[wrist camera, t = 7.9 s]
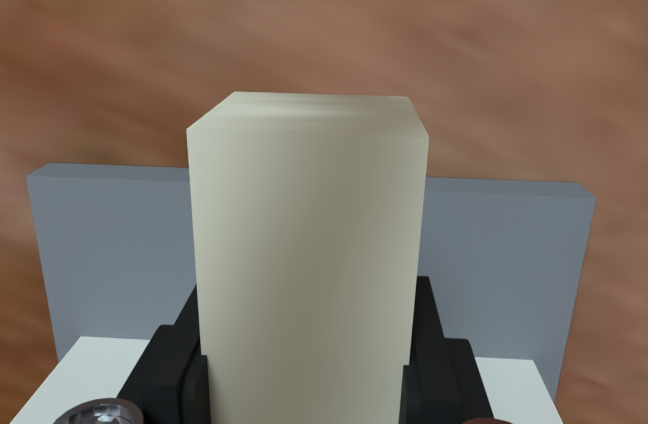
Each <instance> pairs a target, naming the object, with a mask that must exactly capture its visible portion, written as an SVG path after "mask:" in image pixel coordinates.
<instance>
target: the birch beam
mask: <svg viewBox="0 0 648 424" xmlns="http://www.w3.org/2000/svg"><path fill="white" fill-rule="evenodd" d="M187 144H188V160H189V175H190V190H191V205H192V220H193V235H194V250H195V266H196V281H197V296H198V311H199V326H200V341H201V355H207V364H208V380H209V396H210V412H211V424H398V422H399V410H400V398H401V387H402V375H403V365H409V358H410V347H411V336H412V324H413V313H414V302H415V291H416V279H417V268H418V257H419V246H420V234H421V223H422V212H423V201H424V189H425V178H426V167H427V156H428V144H429V136H428V134H427V132H426V130H425V128H424V126H423V124H422V123H421V121H420V119H419V117H418V115H417V113H416V111H415V109H414V107H413V105H412V103H411V101H410V100H409V98H408V97H397V96H364V95H331V94H297V93H264V92H234V93H232V94H231V95H230V96H228V97H227V98H226V99H225V100H223V101H222V102H221V103H220V104H218V105H217V106H216V107H214V108H213V109H212V110H211V111H209V112H208V113H207V114H205V115H204V116H203V117H202V118H200V119H199V120H198V121H196V122H195V123H194V124H193V125H191V126H190V127H189V128H187Z"/></svg>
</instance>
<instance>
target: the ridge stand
mask: <svg viewBox="0 0 648 424" xmlns="http://www.w3.org/2000/svg"><path fill="white" fill-rule="evenodd" d="M26 180H27V185H28V191H29V197H30V202H31V208H32V214H33V220H34V225H35V231H36V237H37V242H38V248H39V254H40V259H41V265H42V271H43V276H44V282H45V288H46V293H47V299H48V305H49V310H50V316H51V322H52V328H53V333H54V339H55V345H56V350H57V356H58V362H59V364H58V365H57V366H56V368H55V369H54V370H53V371H52V372H51V374H50V375H49V376H48V377H47V379H46V380H45V381H44V382H43V383H42V385H41V386H40V387H39V388H38V390H37V391H36V392H35V393H34V394H33V396H32V397H31V398H30V399H29V401H28V402H27V403H26V404H25V406H24V407H23V408H22V409H21V410H20V412H19V413H18V414H17V415H16V417H15V418H14V419H13V420H12V421H11V423H10V424H53V423H54V422H55V420H56V419H57V418H59V417H60V416H61V415H62V414H64V413H65V412H66V411H67V410H69V409H71V408H73V407H75V406H77V405H79V404H81V403H84V402H88V401H91V400H94V399H101V398H116V397H117V395H118V393H119V392H120V390H121V388H122V387H123V385H124V383H125V382H126V380H127V378H128V377H129V375H130V373H131V371H132V370H133V368H134V366H135V365H136V363H137V361H138V360H139V358H140V356H141V355H142V353H143V351H144V350H145V348H146V346H147V345H148V343H149V341H150V340H151V338H152V336H153V335H154V333H155V331H156V330H157V328H158V327H159V326H160V325H163V324H168V325H174V323H175V321H176V319H177V318H178V316H179V314H180V312H181V310H182V309H183V307H184V305H185V303H186V301H187V300H188V298H189V296H190V294H191V292H192V291H193V289H194V287H195V285H196V283H197V281H196V266H195V250H194V235H193V220H192V205H191V190H190V175H189V168H173V167H146V166H120V165H93V164H66V163H48V164H47V165H45V166H43V167H41V168H39V169H37V170H35V171H34V172H32V173H30V174H28V175H26ZM595 201H596V197H594V196H593V195H592V194H591V193H590V192H589V191H588V190H586V189H585V188H584V187H583V186H582V185H581V184H579V183H571V182H544V181H518V180H491V179H465V178H438V177H426V178H425V189H424V201H423V212H422V223H421V234H420V246H419V257H418V268H417V276H429V279H430V283H431V287H432V291H433V295H434V299H435V302H436V306H437V310H438V314H439V318H440V322H441V326H442V330H443V333H444V337H445V338H462V339H468V340H469V342H470V345H471V348H472V351H473V354H474V357H475V360H476V363H477V366H478V369H479V372H480V375H481V378H482V381H483V384H484V387H485V390H486V393H487V396H488V400H489V403H490V406H491V409H492V412H493V415H494V418H495V419H499V420H504V421H508V422H510V423H512V424H563V422H562V420H561V418H560V416H559V414H558V412H557V410H556V408H555V405H554V400H555V395H556V391H557V386H558V381H559V376H560V371H561V366H562V361H563V357H564V352H565V347H566V342H567V337H568V332H569V327H570V323H571V318H572V313H573V308H574V303H575V298H576V293H577V288H578V284H579V279H580V274H581V269H582V264H583V259H584V254H585V250H586V245H587V240H588V235H589V230H590V225H591V220H592V216H593V211H594V206H595Z"/></svg>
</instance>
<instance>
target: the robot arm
mask: <svg viewBox="0 0 648 424" xmlns="http://www.w3.org/2000/svg"><path fill="white" fill-rule="evenodd" d="M53 424H211V412H210V396H209V380H208V364H207V355H201V341H200V326H199V311H198V296H197V283H196V285H195V287H194V289H193V291H192V292H191V294H190V296H189V298H188V300H187V301H186V303H185V305H184V307H183V309H182V310H181V312H180V314H179V316H178V318H177V319H176V321H175V323H174V325H168V324H163V325H160V326H159V327H158V328H157V330H156V331H155V333H154V335H153V336H152V338H151V340H150V341H149V343H148V345H147V346H146V348H145V350H144V351H143V353H142V355H141V356H140V358H139V360H138V361H137V363H136V365H135V366H134V368H133V370H132V371H131V373H130V375H129V377H128V378H127V380H126V382H125V383H124V385H123V387H122V388H121V390H120V392H119V393H118V395H117V397H116V398H101V399H94V400H91V401H88V402H84V403H81V404H79V405H77V406H75V407H73V408H71V409H69V410H67V411H66V412H65V413H64V414H62V415H61V416H60V417H59V418H57V419H56V420H55V422H54V423H53ZM398 424H512V423H510V422H508V421H504V420H499V419H495V418H494V415H493V412H492V409H491V406H490V403H489V400H488V396H487V393H486V390H485V387H484V384H483V381H482V378H481V375H480V372H479V369H478V366H477V363H476V360H475V357H474V354H473V351H472V348H471V345H470V342H469V340H468V339H462V338H445V337H444V333H443V330H442V326H441V322H440V318H439V314H438V310H437V306H436V302H435V299H434V295H433V291H432V287H431V283H430V279H429V276H417V279H416V291H415V302H414V313H413V324H412V336H411V347H410V358H409V365H403V375H402V387H401V398H400V410H399V422H398Z"/></svg>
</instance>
